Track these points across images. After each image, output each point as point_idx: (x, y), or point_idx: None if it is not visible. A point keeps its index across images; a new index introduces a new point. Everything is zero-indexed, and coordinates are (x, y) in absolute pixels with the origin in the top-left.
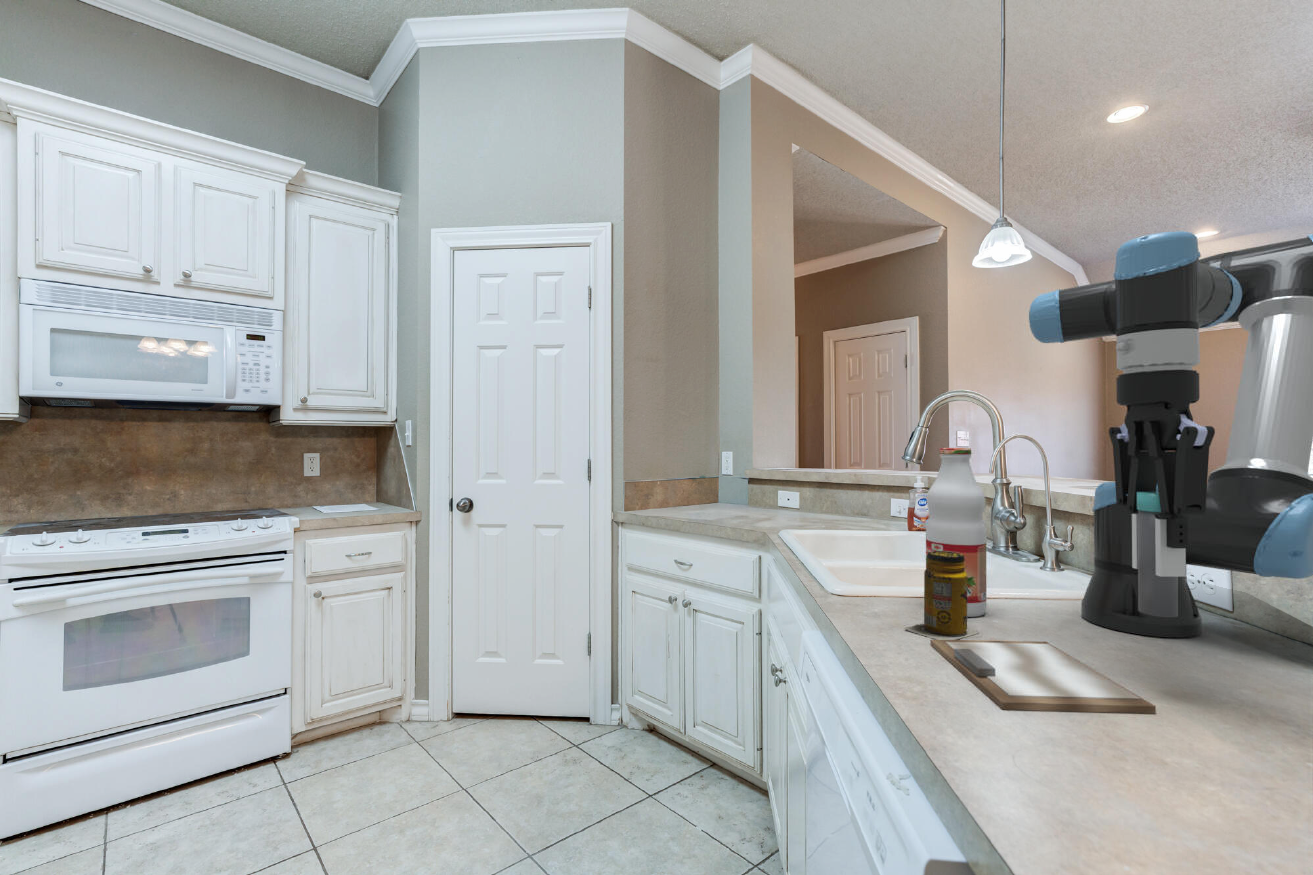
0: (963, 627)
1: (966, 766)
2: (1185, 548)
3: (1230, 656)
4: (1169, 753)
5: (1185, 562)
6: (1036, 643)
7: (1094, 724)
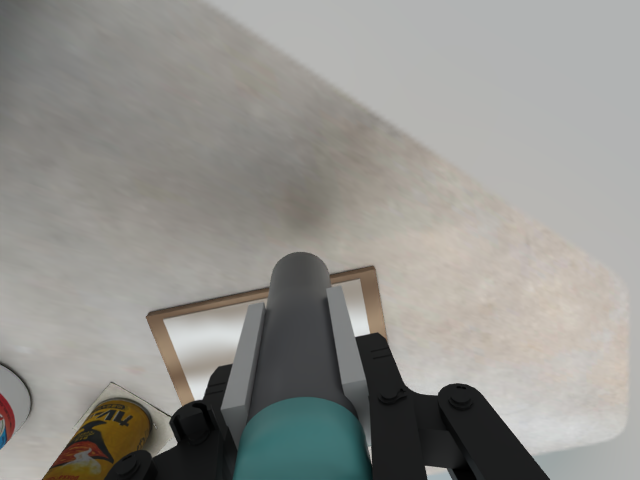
0: (134, 413)
1: None
2: (350, 320)
3: (66, 29)
4: (470, 293)
5: (345, 301)
6: (161, 331)
7: (415, 334)
